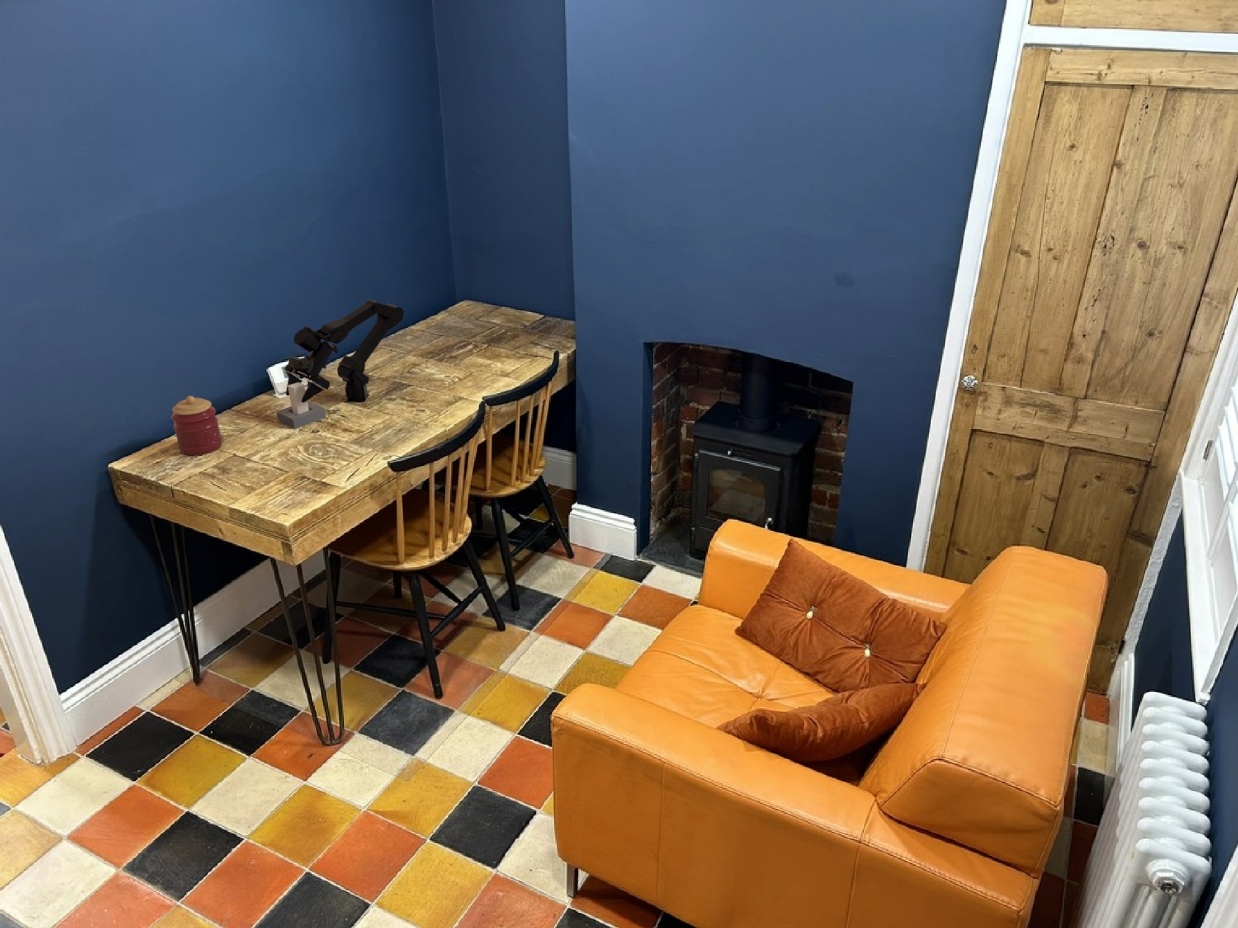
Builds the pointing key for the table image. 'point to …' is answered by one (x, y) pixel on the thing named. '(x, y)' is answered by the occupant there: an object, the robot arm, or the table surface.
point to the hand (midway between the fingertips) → (294, 398)
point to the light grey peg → (297, 398)
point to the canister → (196, 426)
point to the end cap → (301, 416)
